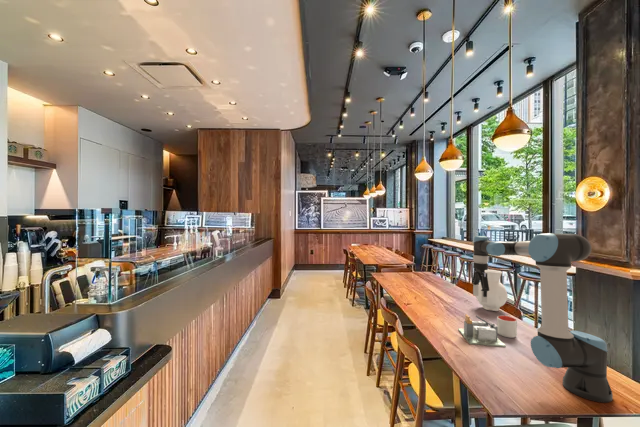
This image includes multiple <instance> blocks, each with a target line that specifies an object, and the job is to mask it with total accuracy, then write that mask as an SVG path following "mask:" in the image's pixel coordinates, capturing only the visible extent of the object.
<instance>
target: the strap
mask: <svg viewBox="0 0 640 427" xmlns="http://www.w3.org/2000/svg"><path fill="white" fill-rule="evenodd" d="M475 318H477V319H479V320H480V321H481V322H485V323H487V324H488V326H489V327H490V326H492V327H493V325H491V324H492V323H489V322H488V321H487V320H485V319H483V318H481V317H479V316H478V315H475Z"/></svg>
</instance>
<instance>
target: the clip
mask: <svg viewBox="0 0 640 427" xmlns="http://www.w3.org/2000/svg"><path fill="white" fill-rule="evenodd" d="M464 316H465V317H464V318H465V319H464V321H466V322H467V323H468V324H472V321H473V320H472V319H471V316H469V315H468V314H465V315H464Z"/></svg>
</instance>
